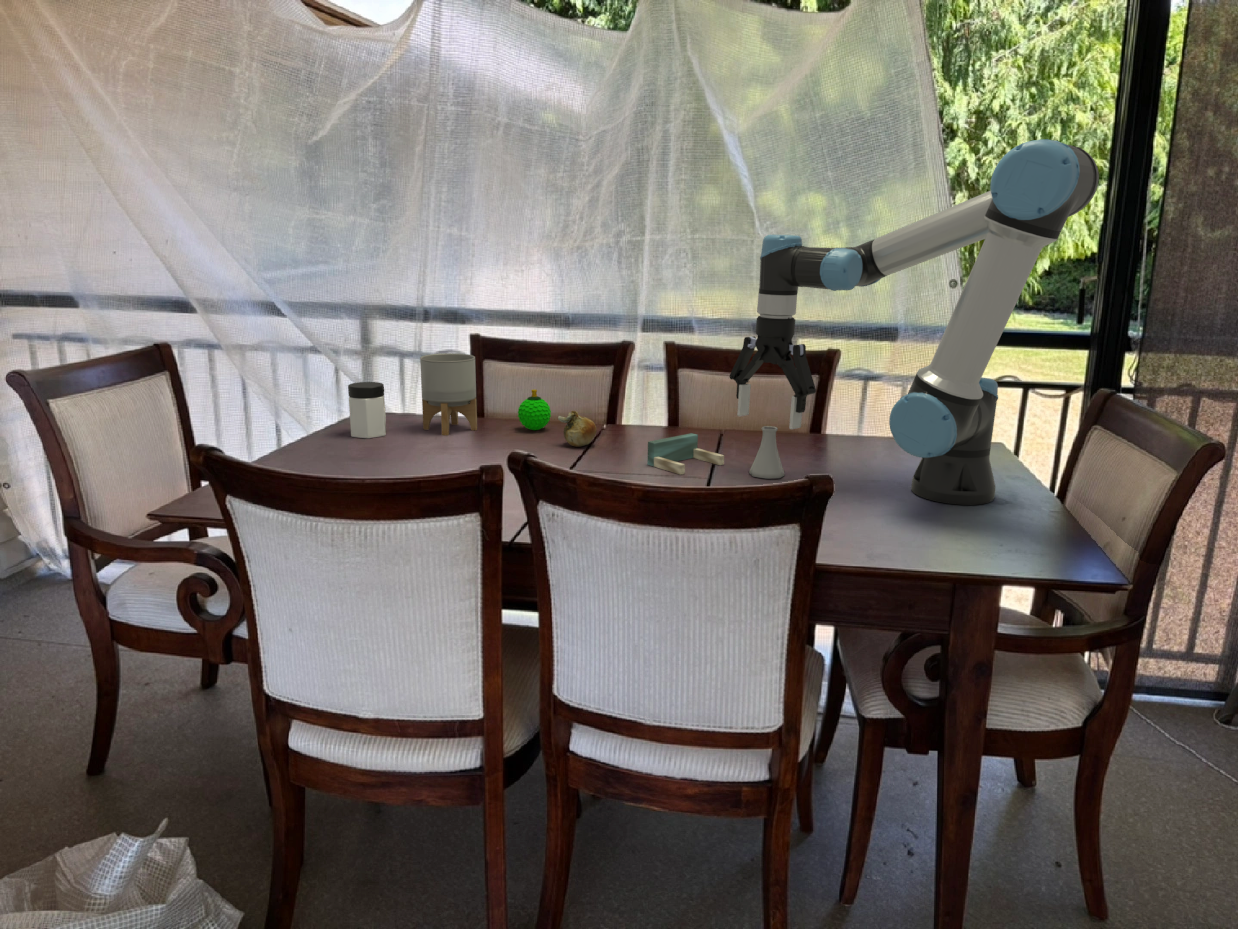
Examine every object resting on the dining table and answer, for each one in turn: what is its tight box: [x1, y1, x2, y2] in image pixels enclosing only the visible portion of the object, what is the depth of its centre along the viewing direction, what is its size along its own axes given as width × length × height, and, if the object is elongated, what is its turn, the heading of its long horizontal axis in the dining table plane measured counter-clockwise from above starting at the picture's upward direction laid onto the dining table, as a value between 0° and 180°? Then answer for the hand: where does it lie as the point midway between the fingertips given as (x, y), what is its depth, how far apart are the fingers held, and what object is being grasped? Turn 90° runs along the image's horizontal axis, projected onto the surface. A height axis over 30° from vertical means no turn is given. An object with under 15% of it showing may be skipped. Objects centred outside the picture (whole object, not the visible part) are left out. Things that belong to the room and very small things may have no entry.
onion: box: [557, 410, 597, 448], centre depth 205 cm, size 8×8×8 cm
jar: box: [347, 381, 387, 440], centre depth 212 cm, size 9×8×12 cm
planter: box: [419, 352, 478, 437], centre depth 217 cm, size 13×13×18 cm
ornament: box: [517, 389, 552, 431], centre depth 219 cm, size 8×8×10 cm
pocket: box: [647, 432, 725, 475], centre depth 190 cm, size 10×13×5 cm
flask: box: [748, 425, 785, 480], centre depth 183 cm, size 7×7×10 cm
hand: (768, 421), depth 181 cm, fingers open, 13 cm apart
